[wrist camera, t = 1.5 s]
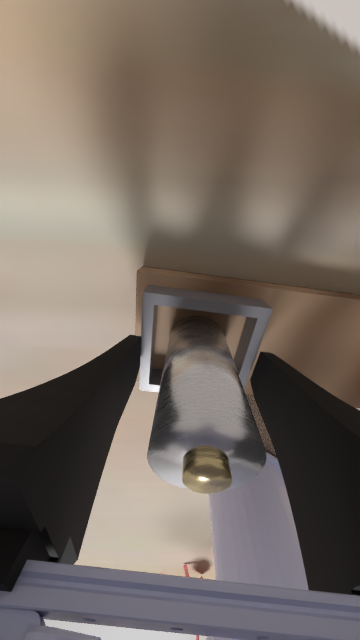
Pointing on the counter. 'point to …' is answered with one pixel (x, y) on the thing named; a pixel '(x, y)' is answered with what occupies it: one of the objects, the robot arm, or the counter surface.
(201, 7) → the counter surface
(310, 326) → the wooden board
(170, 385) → the steel cell
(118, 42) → the counter surface
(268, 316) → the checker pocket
